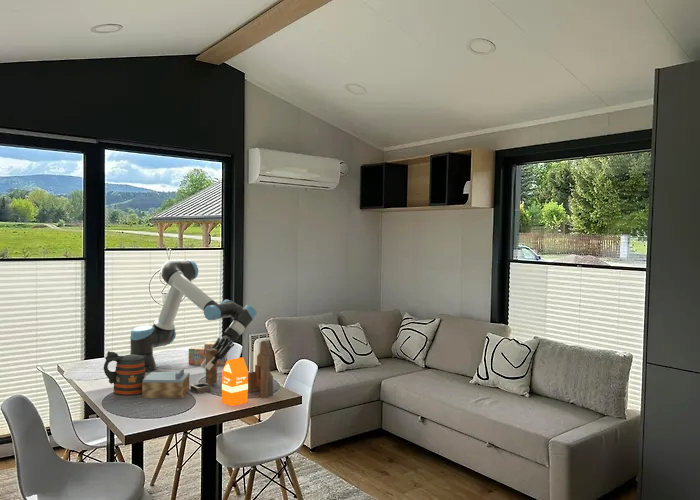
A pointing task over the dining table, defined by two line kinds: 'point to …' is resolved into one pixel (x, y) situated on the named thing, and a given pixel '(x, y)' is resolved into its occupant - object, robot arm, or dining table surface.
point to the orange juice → (235, 382)
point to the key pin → (212, 373)
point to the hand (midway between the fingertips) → (204, 367)
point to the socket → (200, 388)
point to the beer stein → (126, 373)
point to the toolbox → (165, 389)
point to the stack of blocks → (203, 355)
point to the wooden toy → (261, 373)
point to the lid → (167, 377)
